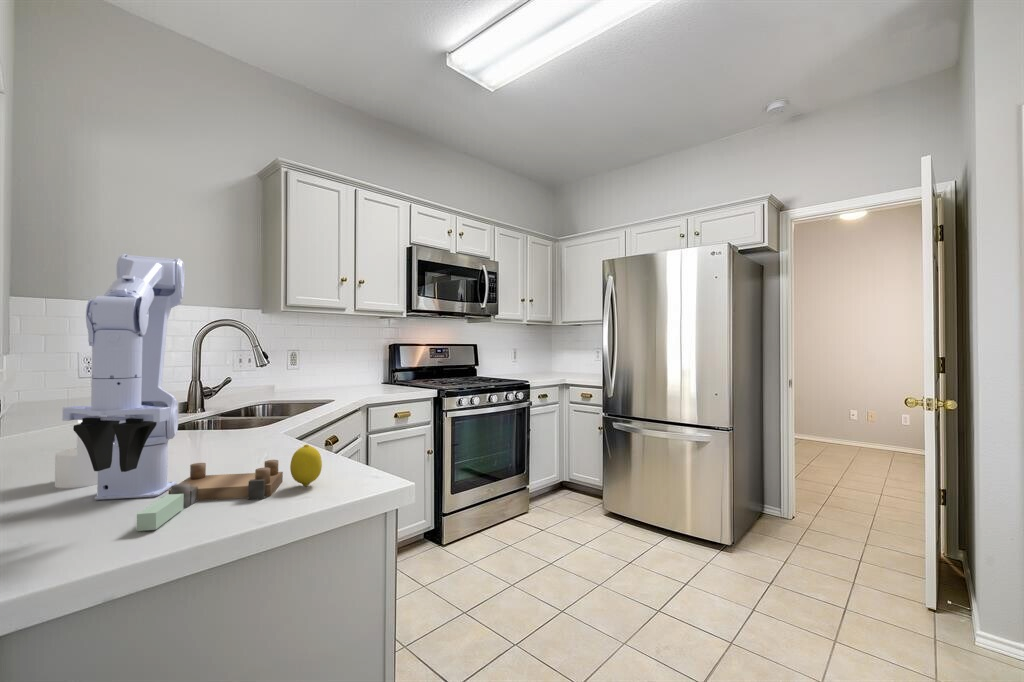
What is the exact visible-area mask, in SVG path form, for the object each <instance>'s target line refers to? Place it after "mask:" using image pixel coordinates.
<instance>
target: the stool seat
mask: <svg viewBox="0 0 1024 682" xmlns="http://www.w3.org/2000/svg"><path fill="white" fill-rule="evenodd" d="M189 467H190V468H189V474H190V475H189V477H187V478H186V479H184V480H183V481H181V482H180V483H177V484H176V485H173V486H171V488H169V489H168V494H184V503H183V509H187V508H189V507H190V506H192V505H193V504H195V503H197V501H208V500H209V501H210V500H223V499H225V500H228V499H242V498H243V499H244V498H245V499H246V498H247V500H248V501H253V500H254V501H255V500H264V499H265V497H271V496H272V495H273V494H274V492H276V491H277V490H278V488H279V487H280V485H281V484H282V483H283V482H284V481H283V479H284V478H283V475H284V471H279V460H278V459H268V460H264V467H258V468H256V469H255V472H246V473H230V474H229V473H228V474H227V473H226V474H210V475H208V474H207V475H206V467H207V465H206V462H195V463H191V464H190V466H189Z"/></svg>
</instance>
